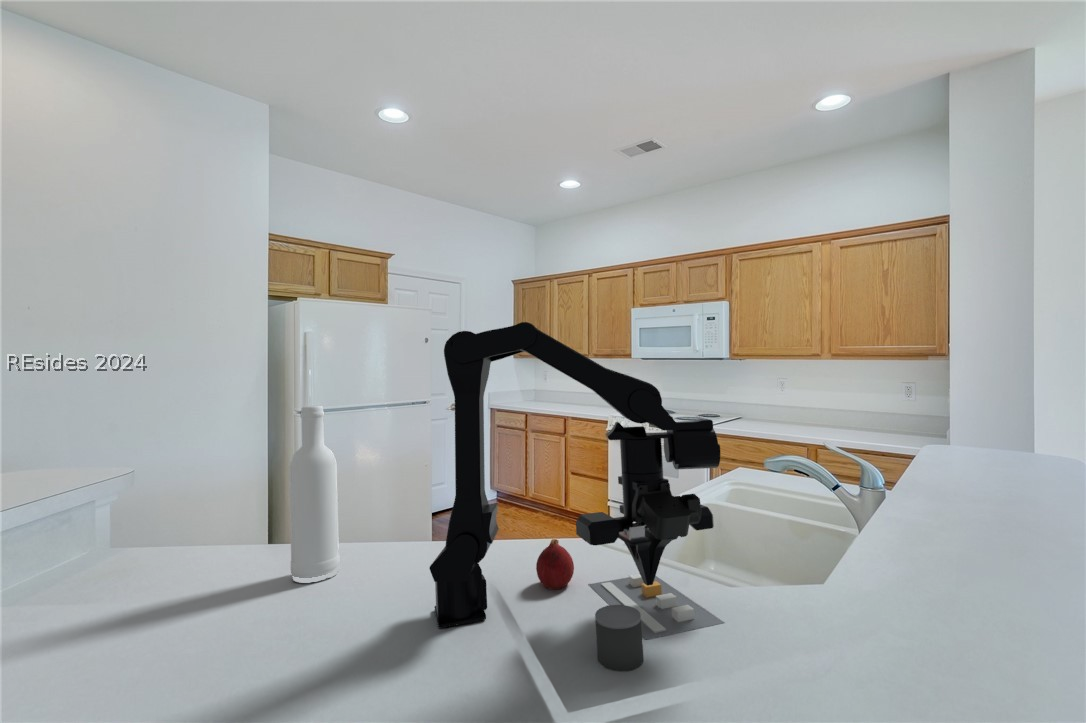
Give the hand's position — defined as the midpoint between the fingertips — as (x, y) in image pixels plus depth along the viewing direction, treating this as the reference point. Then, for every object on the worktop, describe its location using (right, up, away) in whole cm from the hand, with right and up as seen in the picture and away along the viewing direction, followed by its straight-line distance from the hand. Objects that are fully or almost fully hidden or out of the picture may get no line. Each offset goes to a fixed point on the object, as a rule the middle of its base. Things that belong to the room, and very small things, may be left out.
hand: (648, 584), depth 69 cm
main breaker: (+1, -2, +2) cm, 3 cm away
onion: (-13, -5, +7) cm, 15 cm away
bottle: (-55, -7, +19) cm, 59 cm away
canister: (-6, -3, -14) cm, 16 cm away
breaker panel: (0, -4, 0) cm, 4 cm away
